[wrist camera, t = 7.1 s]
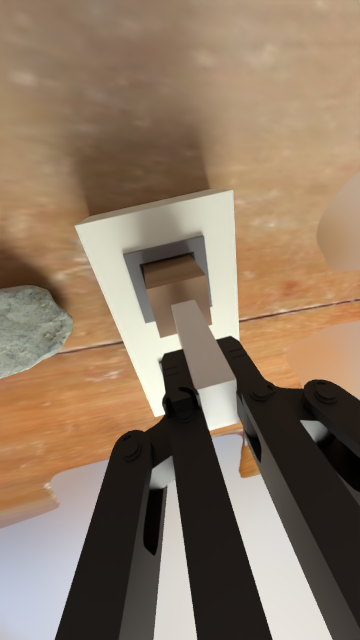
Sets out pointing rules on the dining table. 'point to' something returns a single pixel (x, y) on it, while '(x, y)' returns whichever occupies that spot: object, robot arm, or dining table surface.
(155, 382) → the socket block
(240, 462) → the dining table surface
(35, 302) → the decorative stone
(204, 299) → the peg
